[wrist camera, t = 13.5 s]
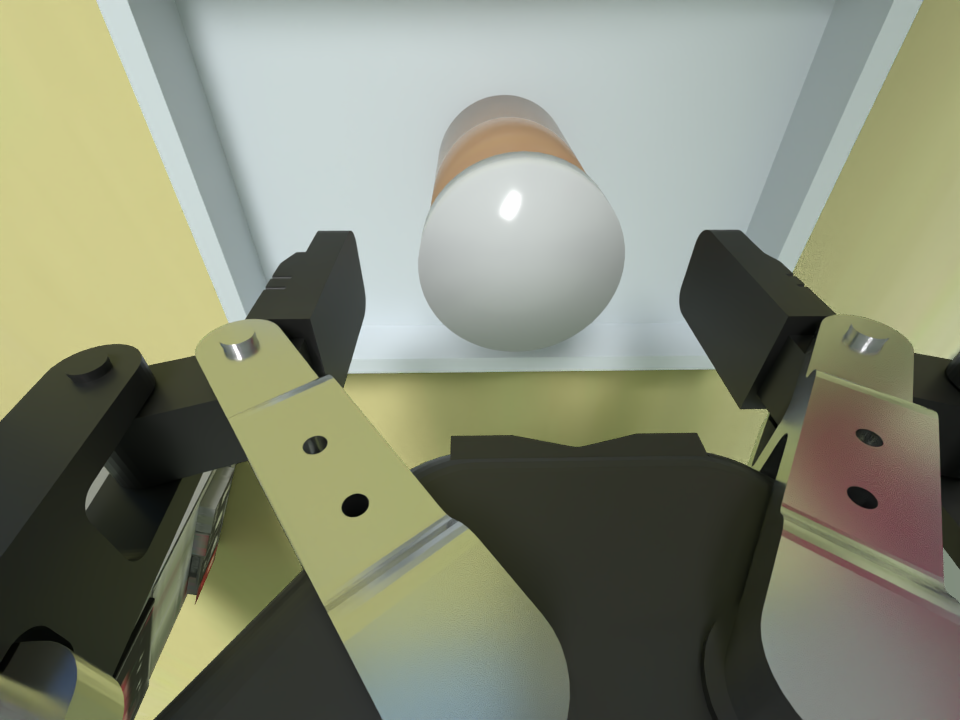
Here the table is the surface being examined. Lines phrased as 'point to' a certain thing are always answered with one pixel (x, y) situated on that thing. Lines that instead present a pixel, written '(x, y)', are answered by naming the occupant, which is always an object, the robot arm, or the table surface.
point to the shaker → (516, 231)
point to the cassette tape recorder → (171, 581)
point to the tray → (484, 73)
